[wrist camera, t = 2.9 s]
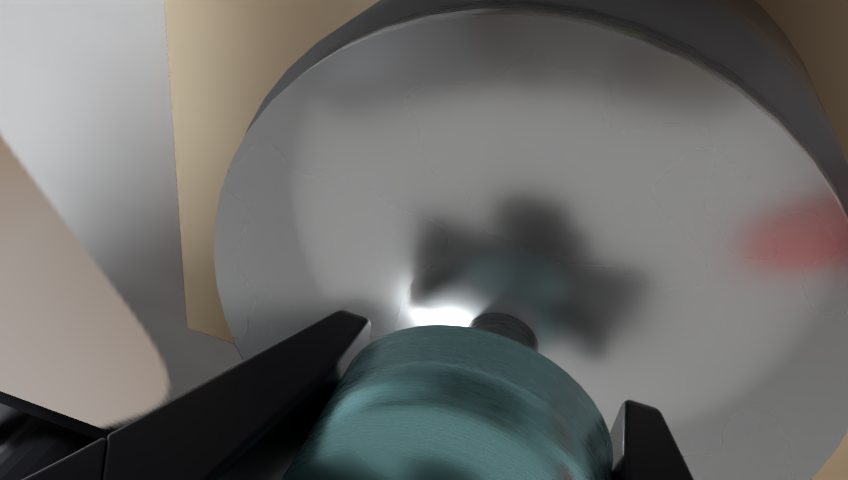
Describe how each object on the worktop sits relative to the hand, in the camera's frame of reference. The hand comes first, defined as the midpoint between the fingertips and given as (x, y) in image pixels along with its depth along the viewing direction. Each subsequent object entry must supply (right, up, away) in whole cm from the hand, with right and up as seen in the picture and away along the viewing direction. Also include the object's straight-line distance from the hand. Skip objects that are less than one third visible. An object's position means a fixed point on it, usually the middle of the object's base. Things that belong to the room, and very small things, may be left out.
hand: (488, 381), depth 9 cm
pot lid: (0, +1, +1) cm, 1 cm away
